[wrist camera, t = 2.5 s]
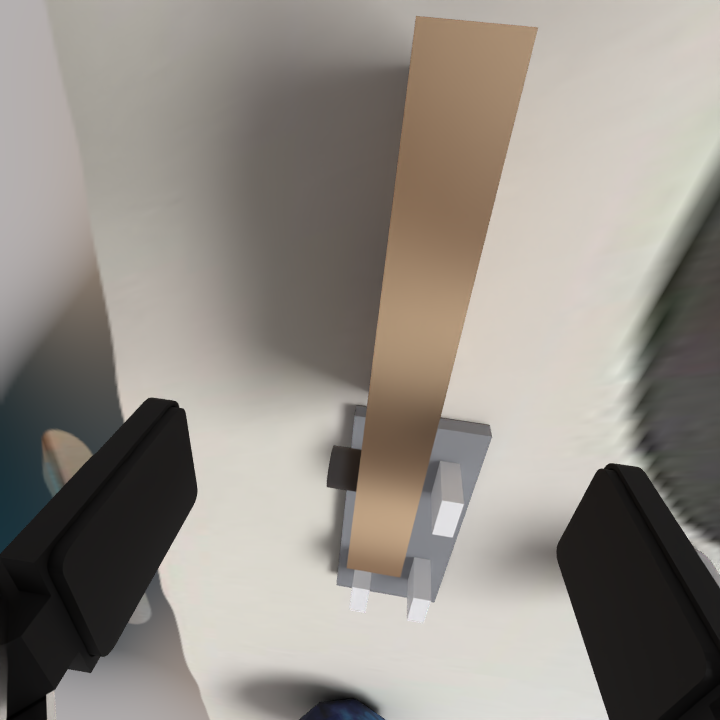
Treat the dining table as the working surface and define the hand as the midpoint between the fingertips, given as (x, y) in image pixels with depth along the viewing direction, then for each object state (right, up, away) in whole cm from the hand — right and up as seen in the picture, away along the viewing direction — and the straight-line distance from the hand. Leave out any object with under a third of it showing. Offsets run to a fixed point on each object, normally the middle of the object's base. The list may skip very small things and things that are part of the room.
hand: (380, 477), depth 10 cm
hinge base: (+3, -8, +20) cm, 22 cm away
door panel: (+2, +7, +11) cm, 13 cm away
